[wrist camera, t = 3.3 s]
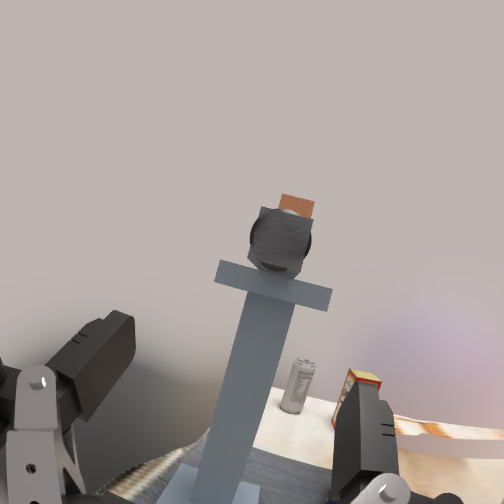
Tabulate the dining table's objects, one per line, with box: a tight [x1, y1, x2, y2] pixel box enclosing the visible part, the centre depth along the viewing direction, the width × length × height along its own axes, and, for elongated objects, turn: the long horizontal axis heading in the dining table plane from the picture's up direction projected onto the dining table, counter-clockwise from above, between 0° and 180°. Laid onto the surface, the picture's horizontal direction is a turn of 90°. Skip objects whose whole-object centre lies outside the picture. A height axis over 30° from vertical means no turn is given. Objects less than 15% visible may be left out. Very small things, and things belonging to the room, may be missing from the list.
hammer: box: [247, 194, 314, 279], centre depth 30 cm, size 23×4×10 cm, turn 175°
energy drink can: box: [280, 357, 315, 414], centre depth 81 cm, size 6×6×15 cm
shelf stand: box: [155, 260, 332, 504], centre depth 34 cm, size 16×12×32 cm
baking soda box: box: [331, 369, 382, 430], centre depth 73 cm, size 10×6×16 cm
